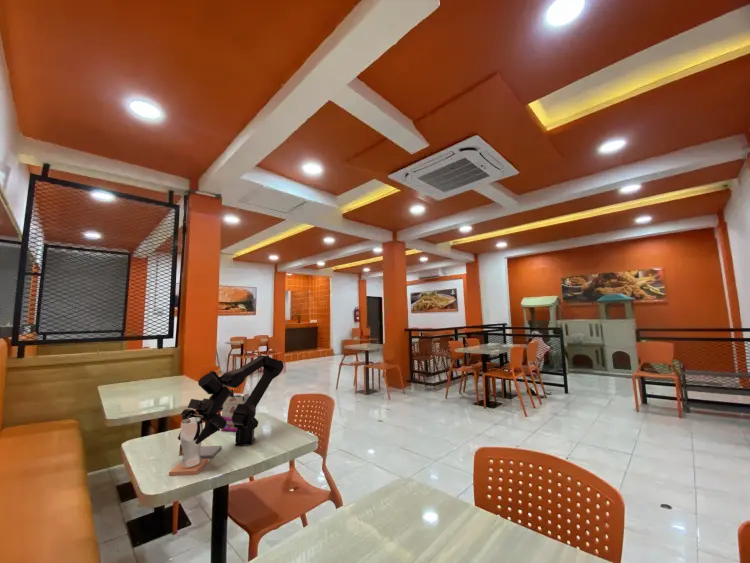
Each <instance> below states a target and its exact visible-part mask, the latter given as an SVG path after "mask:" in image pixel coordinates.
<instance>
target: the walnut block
mask: <svg viewBox="0 0 750 563" xmlns="http://www.w3.org/2000/svg"><path fill="white" fill-rule="evenodd" d="M178 453H179V455H178V456H183V451H182V446H181V443H180V444H179V452H178Z"/></svg>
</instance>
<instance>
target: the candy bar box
mask: <svg viewBox="0 0 750 563" xmlns="http://www.w3.org/2000/svg"><path fill="white" fill-rule="evenodd" d="M233 393H234V397H228V398H227V400H226V401H225V402H224V404H223V405H222V408H223V409H222V411H221V416H222V417H223V418H224V419H225V420H226V421H227V425H226V426H225V428H224V429H220V431H221V432H231V433H233V432H235V433H236V432H237V428H234V424H233V422H232V415H233V411H234V410H235V409H236V407H237V405H238V404H244V403H245V402H246V401H247V399H248V398H249V396H250V393H246V392H245V393H241V392H237V393H235V392H233Z"/></svg>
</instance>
